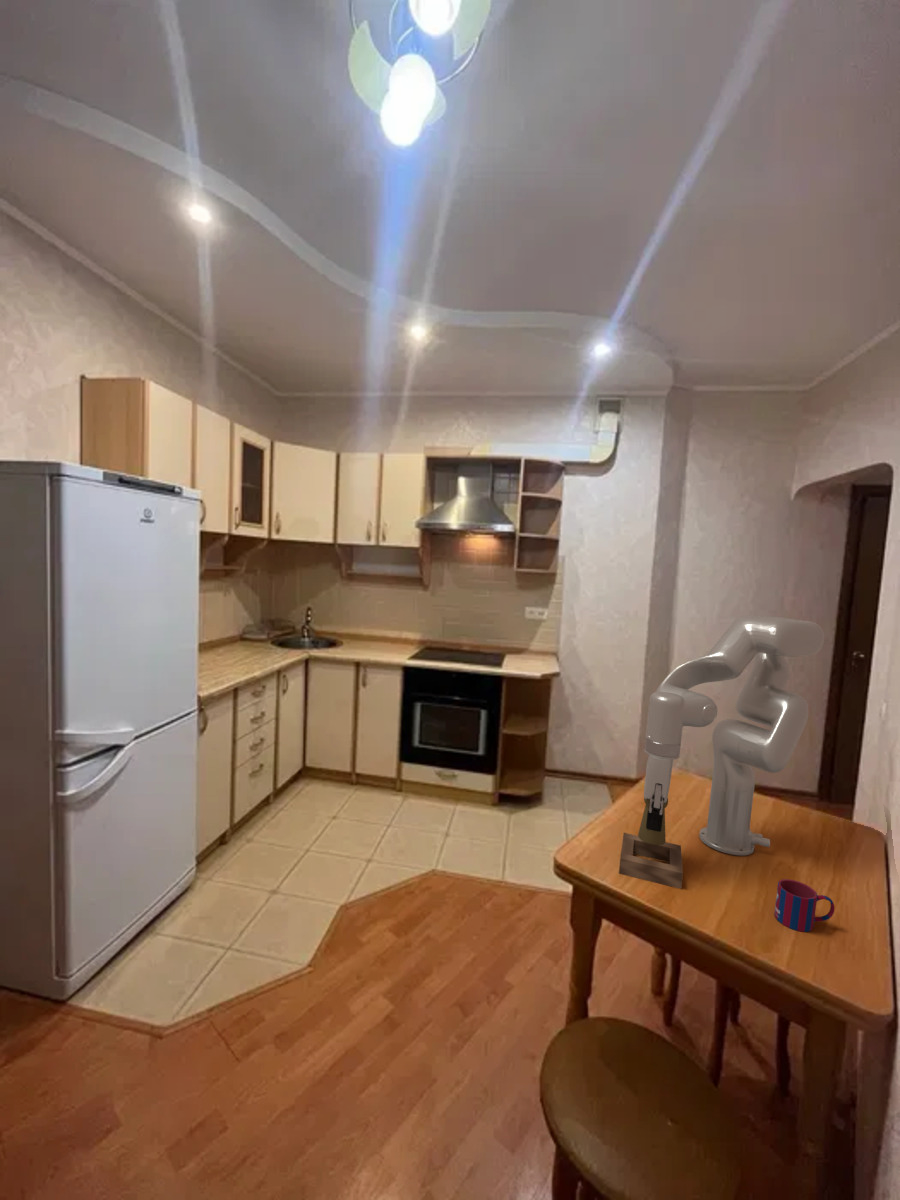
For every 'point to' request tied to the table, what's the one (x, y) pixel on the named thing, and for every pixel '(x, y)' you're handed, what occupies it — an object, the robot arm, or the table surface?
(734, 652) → the robot arm
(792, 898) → the mug
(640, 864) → the walnut holder
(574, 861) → the table surface
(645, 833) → the olive knobbed peg
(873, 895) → the table surface
